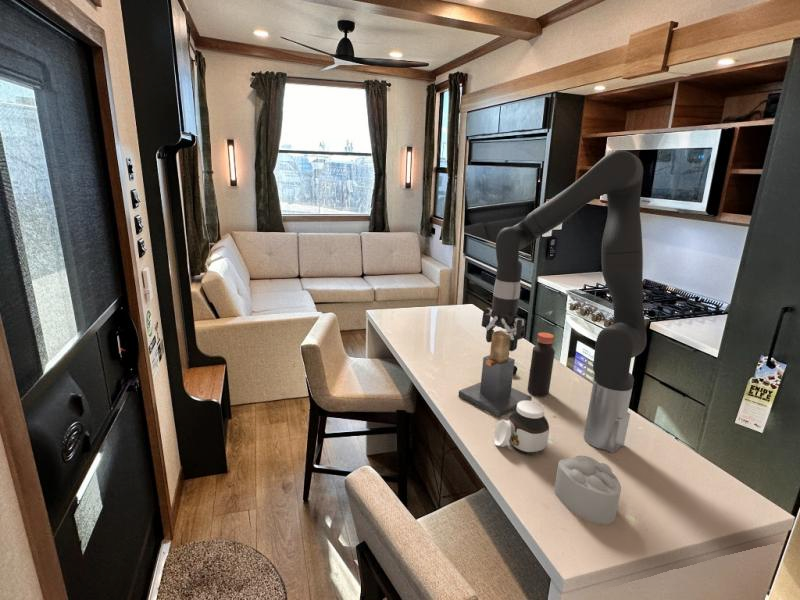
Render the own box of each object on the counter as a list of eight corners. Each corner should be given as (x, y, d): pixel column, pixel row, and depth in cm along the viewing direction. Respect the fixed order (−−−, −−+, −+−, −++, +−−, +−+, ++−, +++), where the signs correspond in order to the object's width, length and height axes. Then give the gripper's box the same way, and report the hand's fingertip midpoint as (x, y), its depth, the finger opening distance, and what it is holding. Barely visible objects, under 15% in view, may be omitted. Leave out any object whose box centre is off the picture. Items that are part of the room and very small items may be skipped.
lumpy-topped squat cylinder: (583, 479, 105) (589, 447, 103) (628, 518, 94) (636, 483, 91) (547, 488, 102) (552, 455, 99) (589, 530, 90) (596, 494, 88)
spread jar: (550, 453, 115) (556, 412, 112) (517, 465, 109) (523, 423, 106) (517, 429, 125) (522, 392, 122) (485, 440, 119) (490, 400, 116)
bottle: (523, 391, 147) (530, 334, 142) (533, 385, 152) (541, 329, 146) (542, 399, 143) (550, 340, 137) (552, 392, 147) (561, 335, 142)
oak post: (504, 394, 140) (511, 333, 135) (496, 397, 138) (503, 336, 132) (494, 389, 143) (500, 330, 138) (486, 392, 141) (492, 332, 135)
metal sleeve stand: (531, 402, 140) (536, 361, 136) (498, 418, 130) (503, 374, 126) (491, 383, 152) (495, 344, 148) (458, 396, 142) (461, 355, 138)
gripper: (534, 298, 129) (527, 351, 133) (495, 287, 139) (490, 336, 144) (518, 302, 124) (511, 356, 129) (479, 290, 135) (474, 341, 139)
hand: (500, 346), depth 136 cm, fingers open, 8 cm apart
